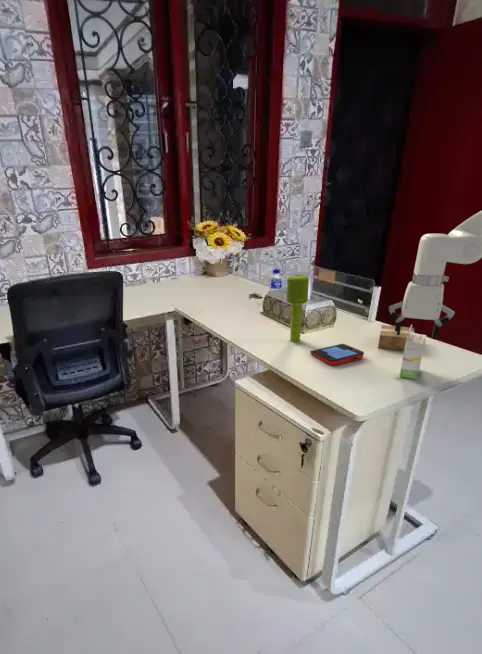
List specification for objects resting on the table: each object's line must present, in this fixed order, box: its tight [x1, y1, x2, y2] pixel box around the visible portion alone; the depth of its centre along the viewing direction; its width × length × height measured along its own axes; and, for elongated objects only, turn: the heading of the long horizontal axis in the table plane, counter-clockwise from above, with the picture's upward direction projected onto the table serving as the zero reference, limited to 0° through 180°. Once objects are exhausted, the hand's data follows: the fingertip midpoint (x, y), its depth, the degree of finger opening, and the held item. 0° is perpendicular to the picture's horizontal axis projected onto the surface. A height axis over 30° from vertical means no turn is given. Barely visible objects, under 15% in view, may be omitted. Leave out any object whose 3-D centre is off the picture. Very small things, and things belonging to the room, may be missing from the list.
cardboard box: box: [377, 324, 415, 352], centre depth 150 cm, size 11×11×5 cm
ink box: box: [399, 324, 427, 380], centre depth 127 cm, size 9×5×15 cm, turn 148°
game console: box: [309, 343, 365, 366], centre depth 144 cm, size 14×13×2 cm
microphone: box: [286, 274, 310, 343], centre depth 154 cm, size 8×8×25 cm
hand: (415, 335), depth 125 cm, fingers open, 9 cm apart
